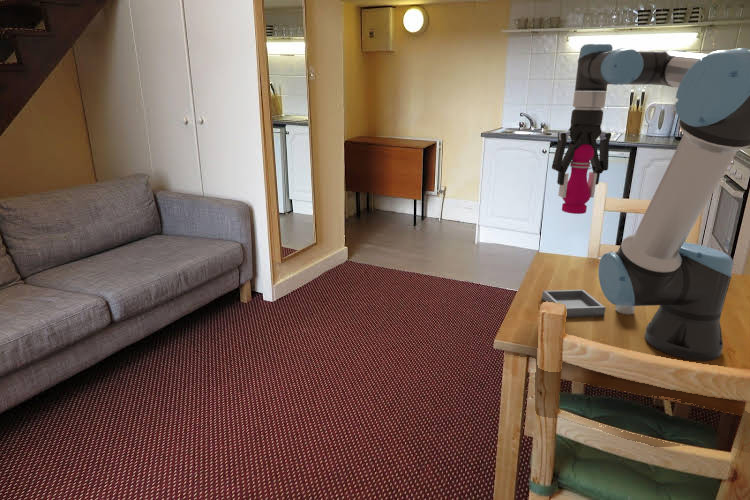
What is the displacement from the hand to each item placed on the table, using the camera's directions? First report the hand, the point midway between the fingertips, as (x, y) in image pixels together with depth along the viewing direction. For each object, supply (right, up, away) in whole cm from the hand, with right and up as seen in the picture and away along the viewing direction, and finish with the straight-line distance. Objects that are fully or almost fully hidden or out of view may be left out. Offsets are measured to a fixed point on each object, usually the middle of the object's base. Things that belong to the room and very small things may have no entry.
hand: (575, 196), depth 135 cm
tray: (-2, -30, -3) cm, 30 cm away
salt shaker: (+11, -31, -4) cm, 33 cm away
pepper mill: (0, -4, +1) cm, 4 cm away
